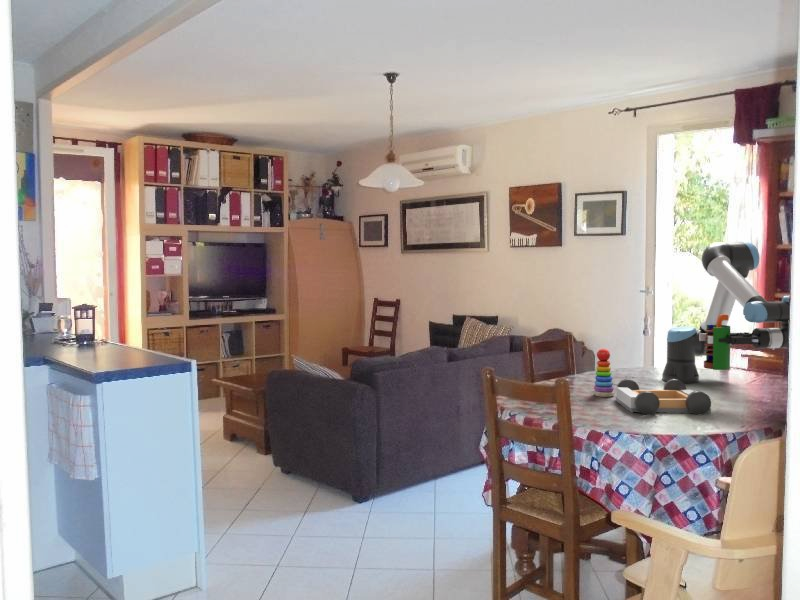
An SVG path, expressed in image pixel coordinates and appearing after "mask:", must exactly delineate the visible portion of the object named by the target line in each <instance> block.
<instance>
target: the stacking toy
mask: <svg viewBox="0 0 800 600" xmlns="http://www.w3.org/2000/svg"><path fill="white" fill-rule="evenodd" d="M596 357H597V359H598V361H597V362H596V364H597V366H596V369H595V370H596V371H595V377H594V380H595V381H594V386H593V389H594V390H593V395H594V396H596V397H601V398H610V397H613V396H614V395H615V392H614V389H615V388H614V382H613V377H612V371H611V369H612V368H611V366H610V365H611V362H610V361H609V359H610V357H611V352H610V351H609V350H608V349H607V348H600V349H599V350H598V351H597V352H596Z"/></svg>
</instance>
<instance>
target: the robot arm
mask: <svg viewBox="0 0 800 600" xmlns="http://www.w3.org/2000/svg"><path fill="white" fill-rule="evenodd" d="M701 264H702V266H703V269H704V270H705V272H706V273H708V274H709V276H711V277H714V278H715V279H716V280H718V281H717V284H716V288H715V291H714V294H713V297H712V300H711V304H710V307H709V309H708V311H707V312H708V313H707V316H706V319H705V320H704V321H702V322H700V324H699V325H700V326H699V328H698V329H697V328H696V327H694V326H689V325H687V326H675V327H672V328H670V329H669V330H668V331H667V336H666V343H667V344H666V345H667V347H666V363H665V366H664V368H663V371H662V374H661V376H662V377H661V380H663V381H666V382H667V381H668V380H671V379H678V380H680V381H682V382H683V383H684V384H693V383H699V381H700V375H699V372H698V368H697V365H696V357H706V354H705V352H706V350H705V347H706V345H705V343H706V341H705V338H708V344H713V336H708V337H707V336H705V334H706V333H707V332H705V329H707V325H716V324H717V319H718V317H719V315H721V314H725V315H728V321H727V320H723V321H722V325H728V323H729V319H730V317H731V314H732V311H733V308H734V306H735V303H736V301H737V302H738V303H739V304H740V306H741V307H743V310H742V311H743V312H742V314H743V316H744V319H745V320H746V321H747V322H749V323H757V324H760V323H780V324H781V327H766V328H764V327H756V328H754V329H753V330H752V332H730V335H727V338H719V342H727V343H728V344H730V346H731V345H752V346H753V347H754V348H755V349H771V350H772V351H773V350H775V349H788V348H787V343H788V320H789V296H790V295H784V296H782V298H781V301H779V300H778V301H768V300H767V299H765V298H764V297H763V295H761V294H760V292H758V291H757V290H756V288H754V286H753V285H752V284H750V282H749V281H747V278H748V276H749V274H750V271H754V270H755V269H757V268H758V267H759V264H760V254H759V249H758V247H757V246H756V245H755V244H753V243H752V242H750V241H747V242H746V241H717V242H713V243H711V244H709V245H708V246H707V247H706V248H705V249H704V250H703V252H702V255H701Z"/></svg>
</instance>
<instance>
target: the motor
mask: <svg viewBox="0 0 800 600" xmlns="http://www.w3.org/2000/svg"><path fill="white" fill-rule="evenodd" d="M723 320H727V321H728V322H729V320H728V315H725V314H721V315H719V317H718V319H717V324H716V325H707V329H705V332H707V333H706V334H705V336H707V337H708V336H713V344H708V338H705V341H706V343H705V345H706V347H705V350H706V352H705V354H706V356H705V357H706V359H705V360H703V369H708V370H713V371H726V370H730V369H731V345H730V344H728V343H727V342H719V338H727V335H730V333H731V325H728V324H727V325H722V321H723Z"/></svg>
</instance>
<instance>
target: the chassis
mask: <svg viewBox="0 0 800 600" xmlns="http://www.w3.org/2000/svg"><path fill="white" fill-rule="evenodd" d="M615 402H617V403H618V404H619V405H620V404H621V405H620V406H622V407H623V408H624V407H625V408H624V409H626V410H627V411H628V410H629V411H630V412H629V411H628V412H629V413H631V414H634V413H633V412H641V413H640V414H643V415H645V414H651V415H653V414H656V413H655V412H667V413H666V414H669V413H668V412H671V413H670V414H694V415H697V414H702V415H704V414H711V410H712V408H711V406H712V400H711V398H710V396H709V395H708V394H706V392H704V391H700V390H695V391H694V390H692V389H687V386H686V383H683V382H682V381H680V380H678V379H671V380H668V381H666V382H665V383H664V385H663V389H640V387H639V384H638V383H637V382H636V381H635V380H633V379H630V378H625V379H624V378H623V379H622V380H621V381H619V382H618V383H617V385H616V396H615ZM674 412H675V413H674ZM681 412H683V413H681Z"/></svg>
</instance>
